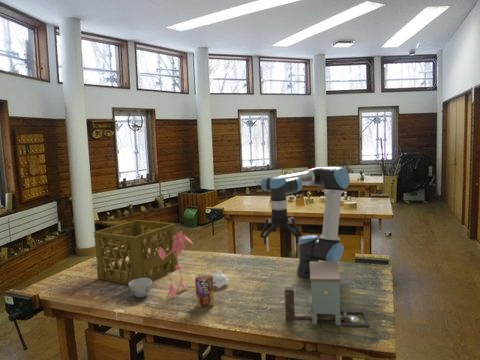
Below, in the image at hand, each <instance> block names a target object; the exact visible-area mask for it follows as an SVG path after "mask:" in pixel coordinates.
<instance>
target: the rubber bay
mask: <svg viewBox="0 0 480 360" xmlns="http://www.w3.org/2000/svg"><path fill="white" fill-rule="evenodd" d="M343 312H347V315H349V314H351V315H355V314H356V315H362V317H363V319H364V322H365V323H355V322H350V323H349V322H344V323H342V327H360V328H361V327H362V328H363V327H364V328H365V327H366V328H367V327H368V328H369V327H370V324H369V321H368V318H367V314H366V311H363V310H362V311H359V310H354V311H353V310H340V314H343Z"/></svg>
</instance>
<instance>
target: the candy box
mask: <svg viewBox="0 0 480 360" xmlns="http://www.w3.org/2000/svg"><path fill="white" fill-rule="evenodd" d="M212 275H213V274H212V273H208V274H198V275H197V274H196V275H195V278H194V279H195V280H194V281H195V282H194V283H195V293H196V294H195V296H196V307H197V308H202V307H210V306H215V294H214V292H215V290H214V286H213V277H212Z"/></svg>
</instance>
